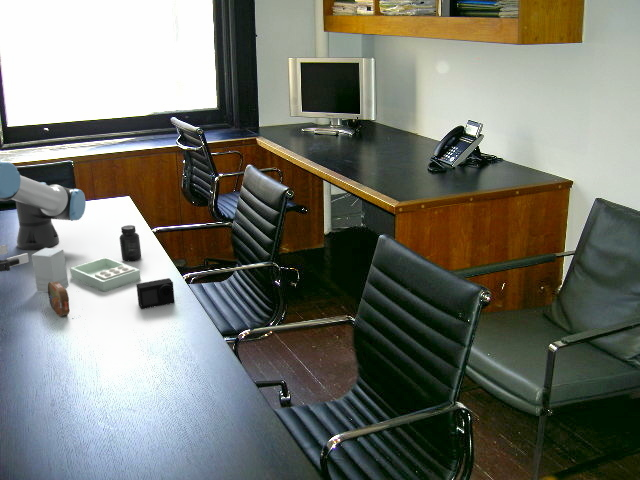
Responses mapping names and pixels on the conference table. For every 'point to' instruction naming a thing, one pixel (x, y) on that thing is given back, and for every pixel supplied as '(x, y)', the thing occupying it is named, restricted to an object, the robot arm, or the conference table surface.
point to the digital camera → (155, 293)
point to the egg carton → (113, 272)
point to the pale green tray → (88, 271)
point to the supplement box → (49, 268)
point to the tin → (58, 298)
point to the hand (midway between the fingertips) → (17, 252)
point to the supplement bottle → (130, 244)
